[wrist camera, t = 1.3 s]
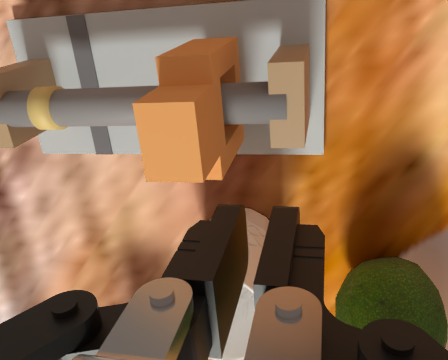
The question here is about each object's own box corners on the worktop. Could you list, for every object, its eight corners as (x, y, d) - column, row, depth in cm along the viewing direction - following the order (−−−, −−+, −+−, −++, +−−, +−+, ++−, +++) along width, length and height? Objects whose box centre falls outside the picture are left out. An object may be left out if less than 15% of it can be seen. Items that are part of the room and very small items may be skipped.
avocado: (316, 261, 37) (310, 374, 27) (401, 220, 34) (432, 332, 23) (366, 324, 39) (378, 454, 28) (451, 292, 36) (501, 426, 25)
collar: (237, 36, 28) (190, 67, 19) (244, 138, 31) (206, 209, 21) (193, 39, 29) (126, 70, 19) (204, 138, 31) (150, 207, 22)
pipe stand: (325, -7, 28) (323, 0, 21) (323, 149, 33) (321, 197, 26) (14, 19, 34) (-69, 31, 27) (49, 149, 39) (-14, 188, 32)
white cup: (208, 188, 37) (169, 256, 28) (297, 216, 36) (286, 294, 27) (191, 259, 40) (152, 339, 32) (272, 286, 40) (255, 375, 31)
